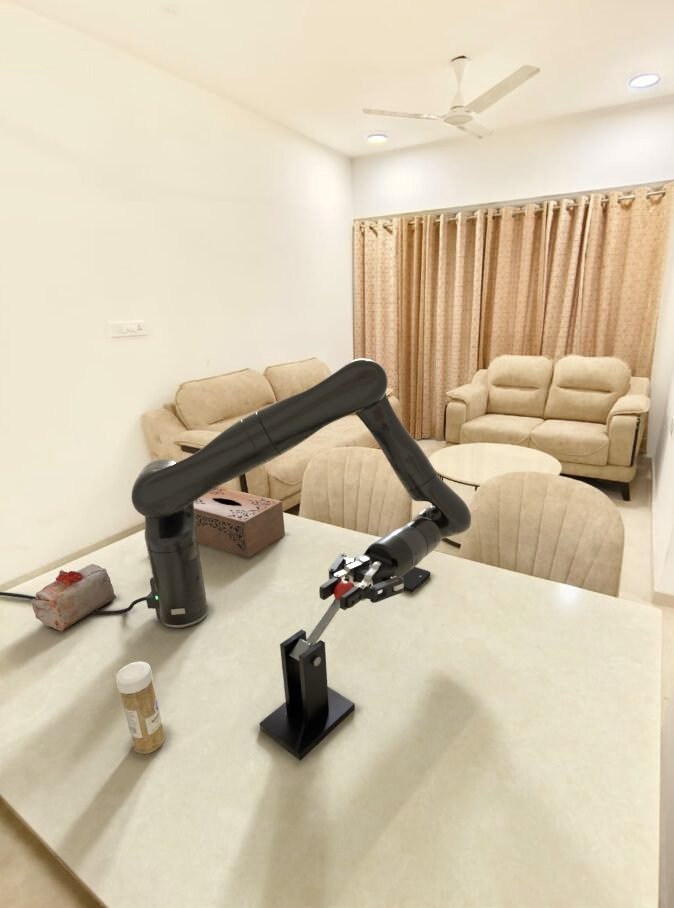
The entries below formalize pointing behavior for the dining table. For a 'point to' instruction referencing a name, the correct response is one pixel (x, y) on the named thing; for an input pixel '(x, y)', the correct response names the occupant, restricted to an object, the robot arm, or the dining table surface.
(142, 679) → the sprinkles bottle
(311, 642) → the lever
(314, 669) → the bracket
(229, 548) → the tissue box cover
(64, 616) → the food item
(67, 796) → the dining table surface
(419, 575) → the cell phone
